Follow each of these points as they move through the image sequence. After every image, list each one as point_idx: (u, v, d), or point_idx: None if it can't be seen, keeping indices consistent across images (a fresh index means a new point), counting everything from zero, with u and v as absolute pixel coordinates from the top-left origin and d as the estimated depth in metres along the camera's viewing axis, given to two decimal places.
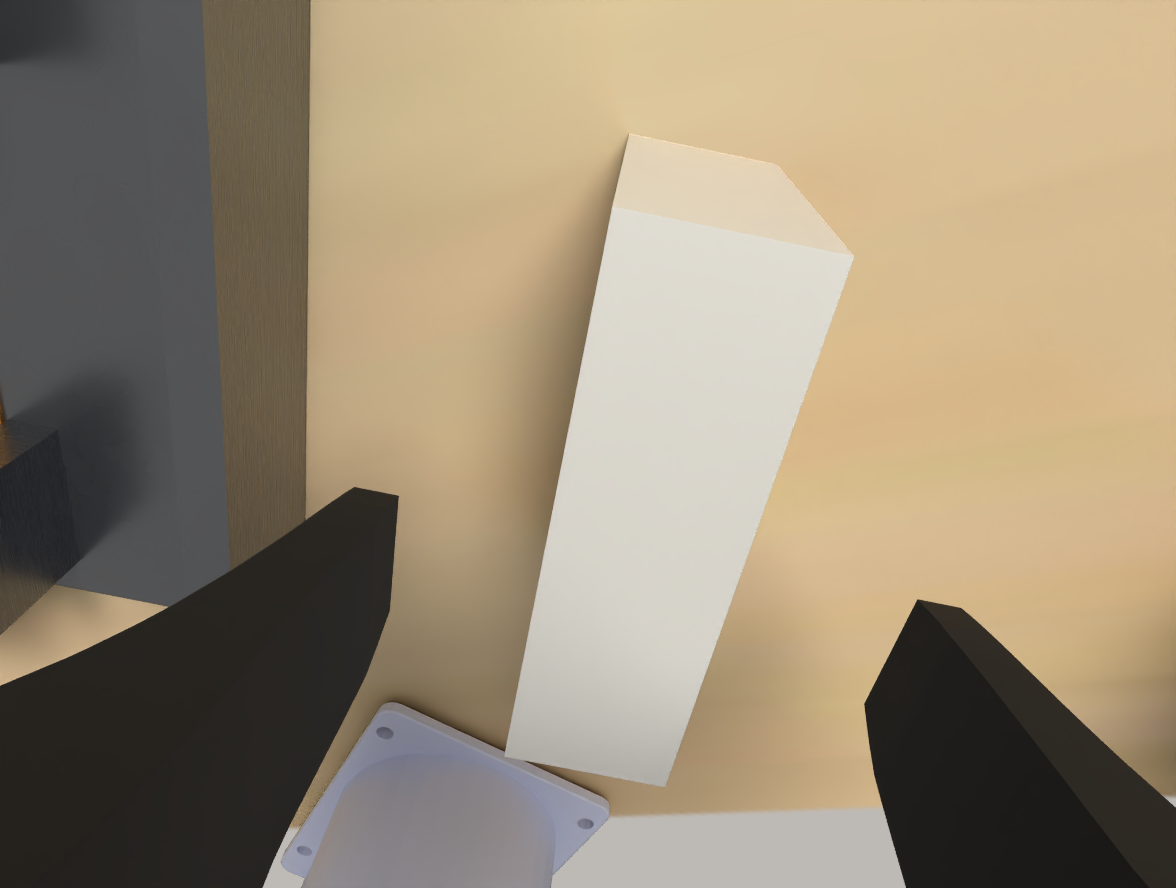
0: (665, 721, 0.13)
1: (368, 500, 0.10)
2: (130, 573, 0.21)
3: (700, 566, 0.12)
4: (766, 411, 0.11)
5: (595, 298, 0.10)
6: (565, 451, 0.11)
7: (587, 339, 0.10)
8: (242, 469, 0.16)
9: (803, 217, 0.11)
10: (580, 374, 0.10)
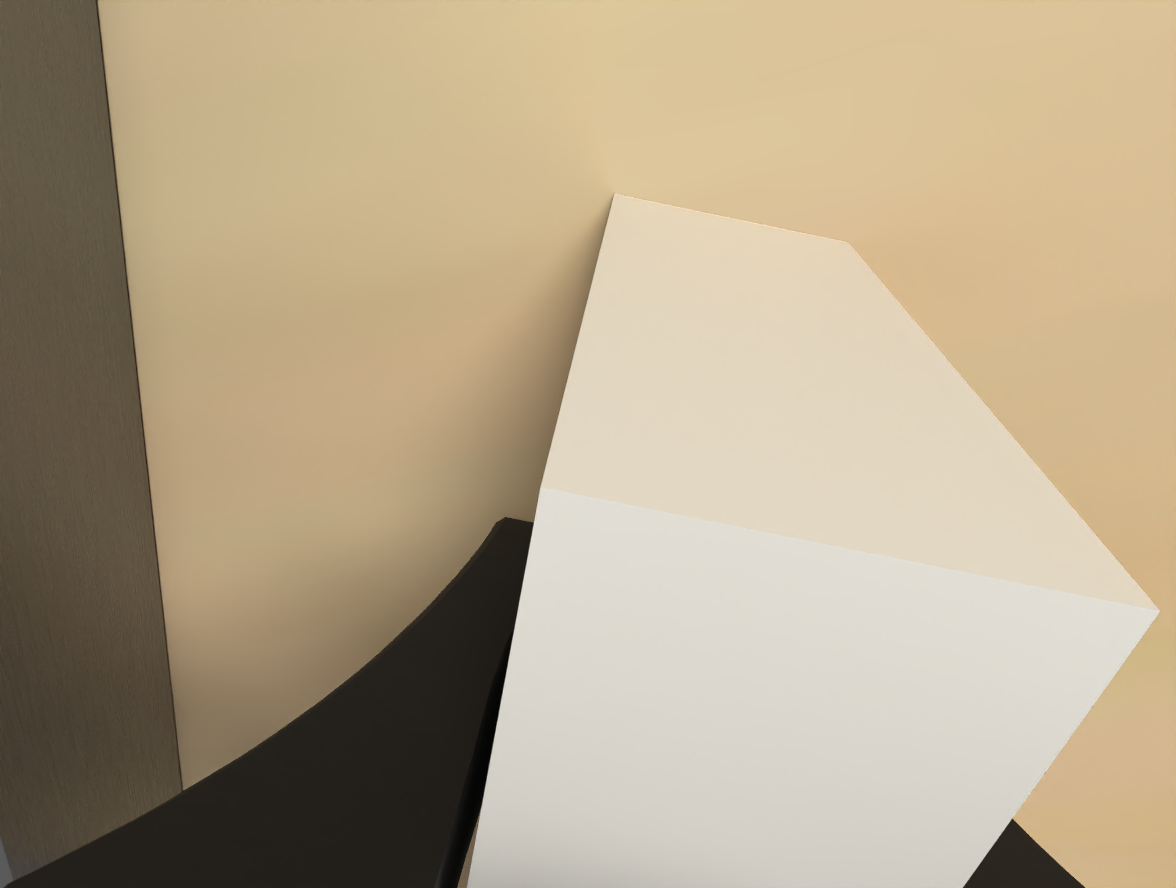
0: None
1: (525, 531, 0.10)
2: None
3: None
4: (897, 873, 0.05)
5: (511, 665, 0.04)
6: None
7: (497, 742, 0.04)
8: (17, 711, 0.10)
9: (962, 421, 0.05)
10: (487, 794, 0.05)
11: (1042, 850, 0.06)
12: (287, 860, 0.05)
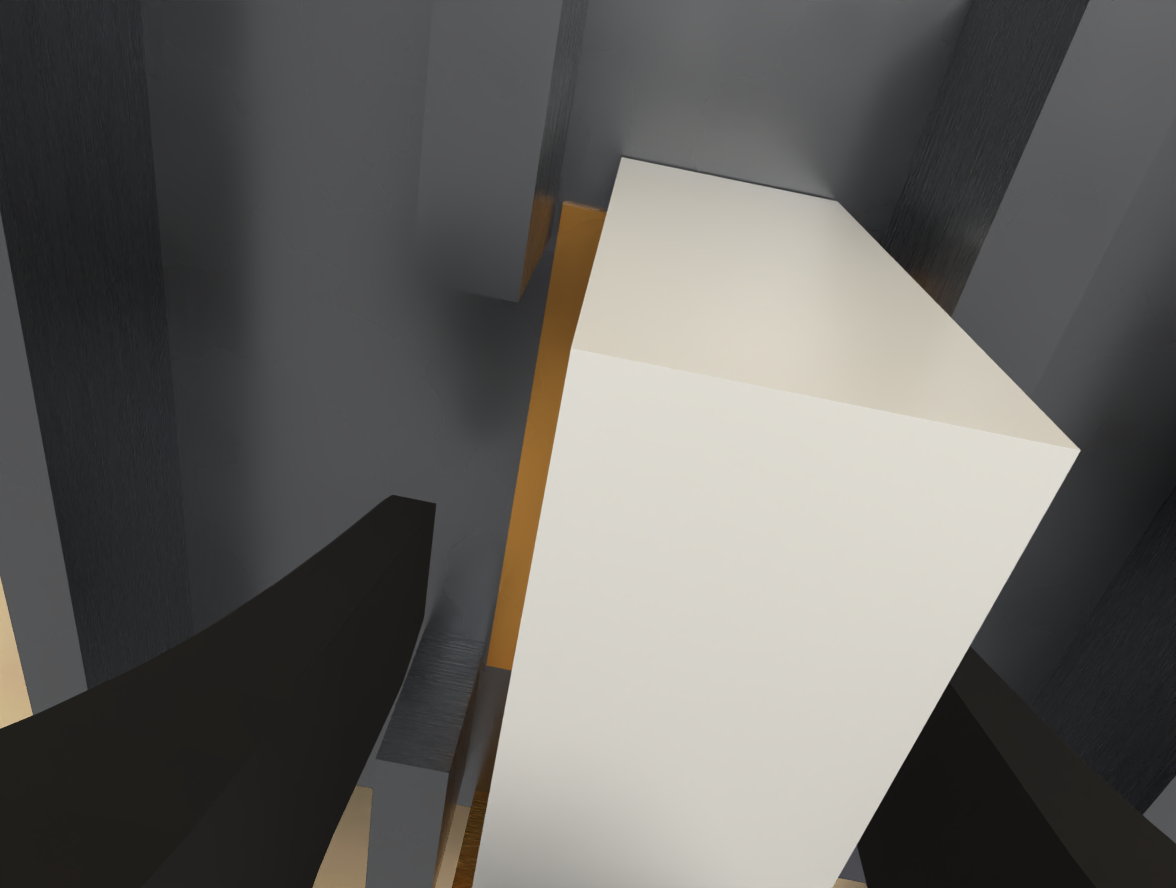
0: None
1: (407, 508, 0.10)
2: None
3: None
4: (872, 706, 0.06)
5: (543, 514, 0.05)
6: (499, 751, 0.06)
7: (529, 586, 0.05)
8: None
9: (929, 328, 0.06)
10: (520, 638, 0.06)
11: None
12: (34, 814, 0.05)
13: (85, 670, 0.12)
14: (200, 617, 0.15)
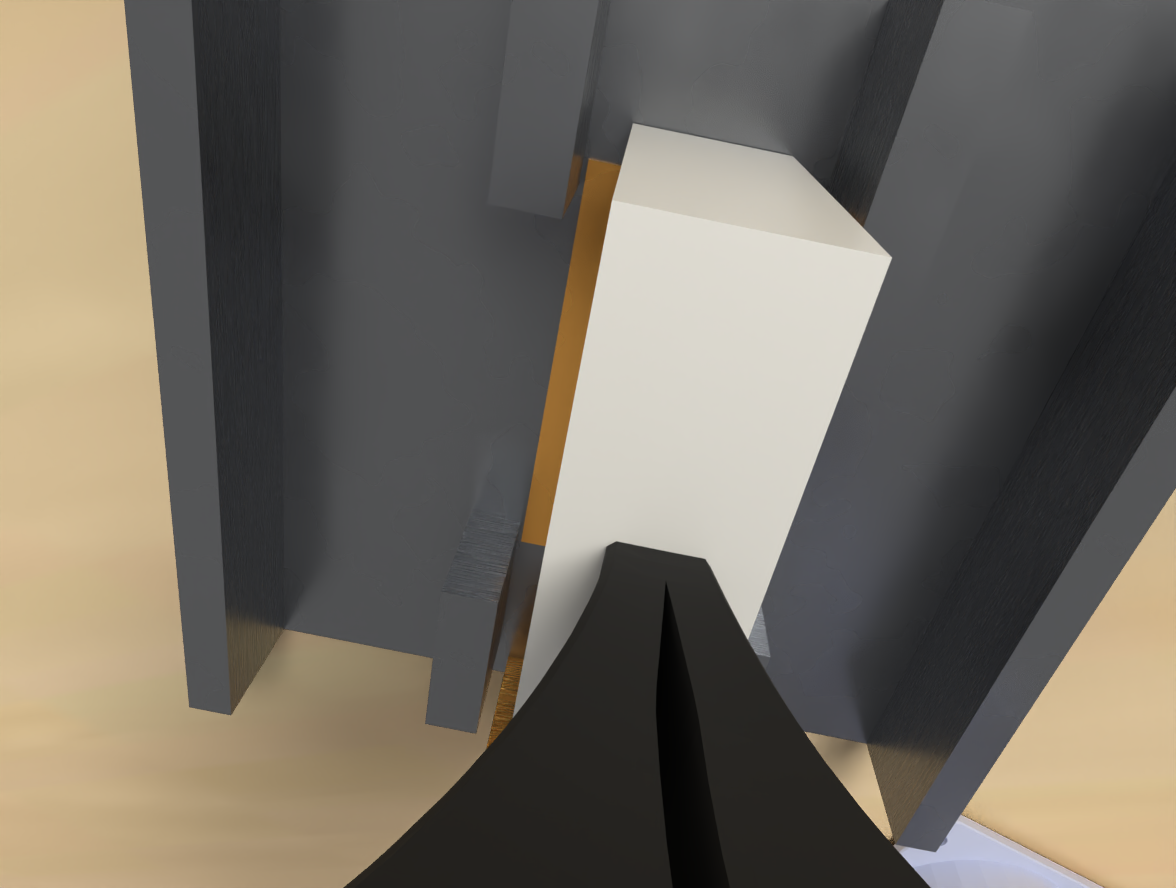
0: None
1: (640, 554, 0.10)
2: None
3: None
4: (788, 434, 0.09)
5: (593, 306, 0.09)
6: (560, 478, 0.10)
7: (584, 352, 0.09)
8: None
9: (829, 213, 0.10)
10: (576, 392, 0.09)
11: (866, 816, 0.06)
12: None
13: (220, 519, 0.16)
14: (290, 503, 0.19)
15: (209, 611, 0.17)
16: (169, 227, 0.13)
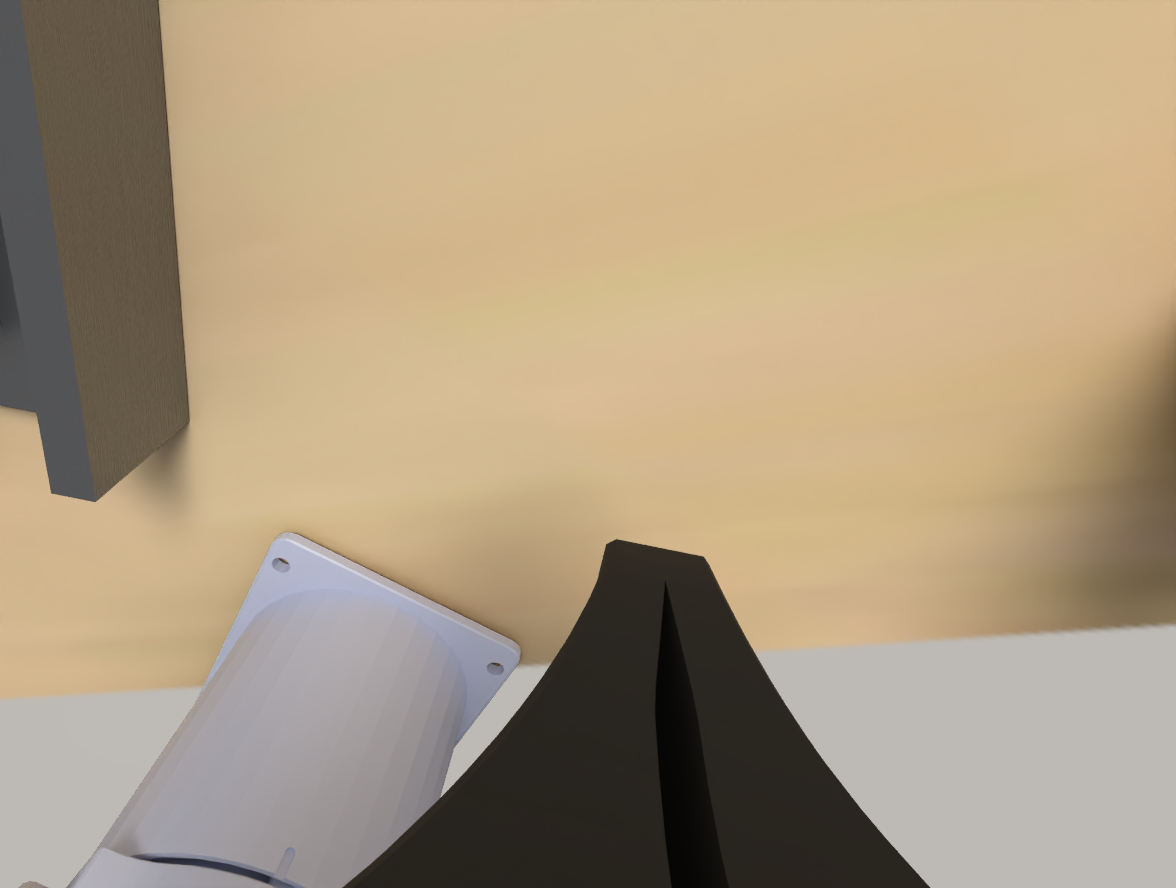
0: None
1: (640, 554, 0.10)
2: None
3: None
4: None
5: None
6: None
7: None
8: (77, 203, 0.15)
9: None
10: None
11: (864, 816, 0.06)
12: None
13: None
14: None
15: None
16: None
